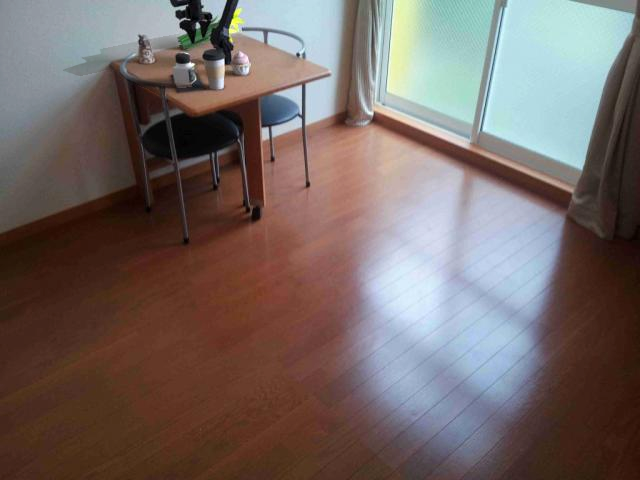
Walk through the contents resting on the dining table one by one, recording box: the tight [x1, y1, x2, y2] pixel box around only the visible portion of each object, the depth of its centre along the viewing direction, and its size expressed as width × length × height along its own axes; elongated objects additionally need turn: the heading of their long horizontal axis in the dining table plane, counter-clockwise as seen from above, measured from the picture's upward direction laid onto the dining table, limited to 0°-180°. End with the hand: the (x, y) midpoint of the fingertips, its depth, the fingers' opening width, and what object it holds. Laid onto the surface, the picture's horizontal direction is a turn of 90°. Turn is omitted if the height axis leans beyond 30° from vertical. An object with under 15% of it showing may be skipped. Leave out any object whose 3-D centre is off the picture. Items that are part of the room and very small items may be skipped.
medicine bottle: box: [172, 52, 197, 85], centre depth 242 cm, size 7×7×12 cm
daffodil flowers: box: [176, 7, 246, 51], centre depth 283 cm, size 17×15×35 cm
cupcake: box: [229, 50, 252, 77], centre depth 253 cm, size 9×9×10 cm
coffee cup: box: [201, 48, 226, 91], centre depth 238 cm, size 9×9×15 cm
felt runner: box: [170, 71, 206, 93], centre depth 246 cm, size 11×20×1 cm, turn 20°
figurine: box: [137, 33, 156, 65], centre depth 262 cm, size 7×7×12 cm
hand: (198, 40), depth 251 cm, fingers open, 9 cm apart
